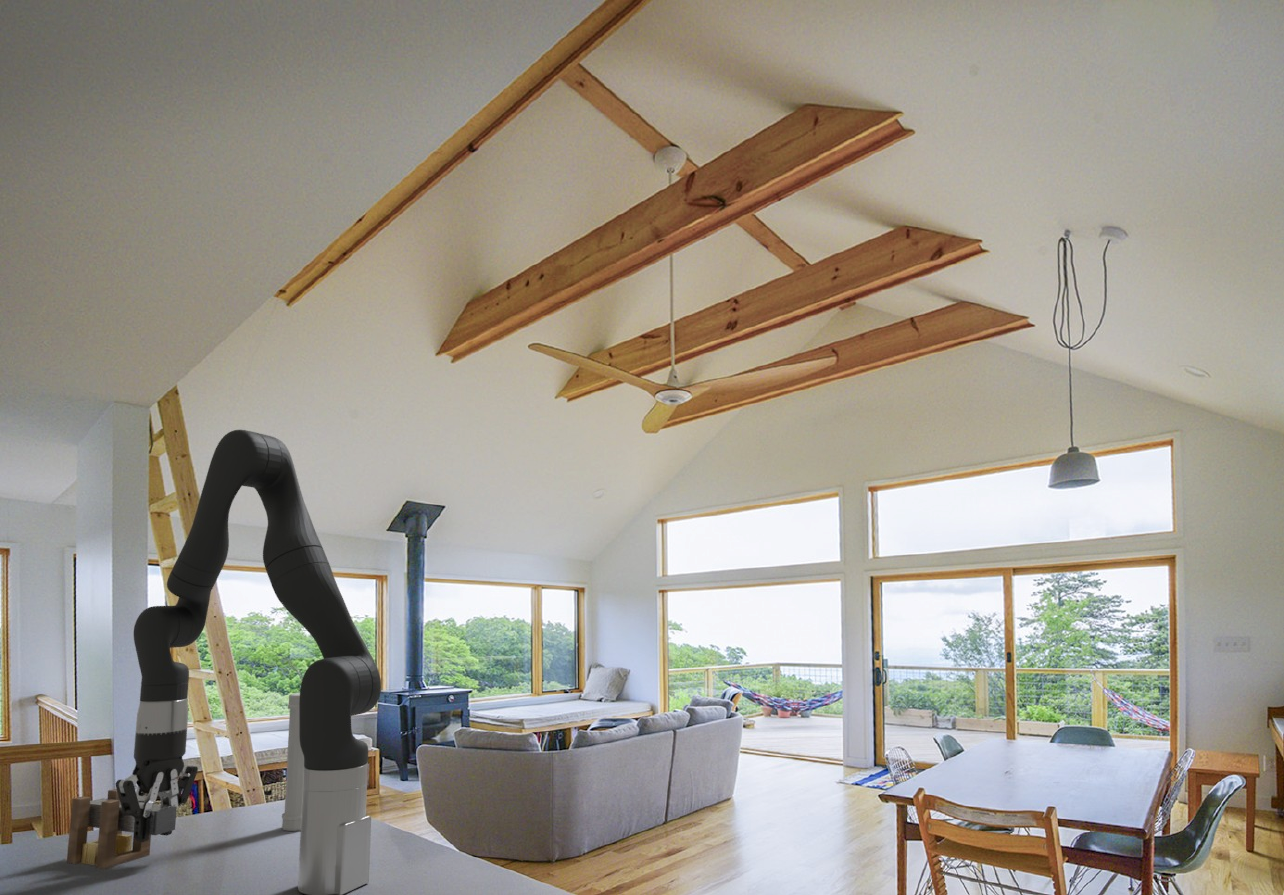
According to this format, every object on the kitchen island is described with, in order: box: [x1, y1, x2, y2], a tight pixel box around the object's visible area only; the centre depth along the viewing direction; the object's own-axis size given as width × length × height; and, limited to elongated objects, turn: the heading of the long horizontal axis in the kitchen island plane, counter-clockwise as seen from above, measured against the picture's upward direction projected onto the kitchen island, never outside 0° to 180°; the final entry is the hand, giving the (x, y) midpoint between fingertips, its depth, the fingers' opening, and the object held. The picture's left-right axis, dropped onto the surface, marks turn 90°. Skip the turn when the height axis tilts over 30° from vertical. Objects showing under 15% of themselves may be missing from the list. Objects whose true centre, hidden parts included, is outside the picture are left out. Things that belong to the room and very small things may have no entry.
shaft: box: [88, 797, 178, 836], centre depth 145 cm, size 18×4×4 cm, turn 68°
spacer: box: [80, 833, 133, 866], centre depth 145 cm, size 3×7×3 cm
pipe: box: [281, 662, 304, 832], centre depth 165 cm, size 6×6×30 cm
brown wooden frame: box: [66, 788, 152, 869], centre depth 146 cm, size 9×8×10 cm
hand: (153, 837), depth 142 cm, fingers closed on shaft, 3 cm apart
